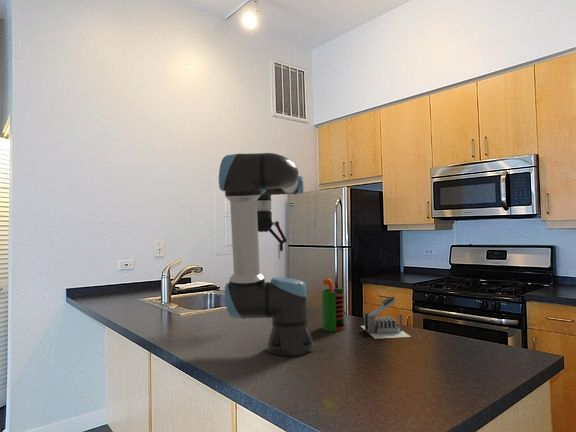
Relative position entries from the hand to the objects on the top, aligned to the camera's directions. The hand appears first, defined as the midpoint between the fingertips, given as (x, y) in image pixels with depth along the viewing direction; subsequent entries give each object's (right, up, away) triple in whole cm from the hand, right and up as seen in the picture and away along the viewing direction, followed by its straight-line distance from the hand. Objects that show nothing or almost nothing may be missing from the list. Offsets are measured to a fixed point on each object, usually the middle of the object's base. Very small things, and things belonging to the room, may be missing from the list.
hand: (264, 259), depth 180 cm
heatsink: (+46, -24, -27) cm, 59 cm away
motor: (+28, -26, -21) cm, 44 cm away
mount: (+46, -24, -27) cm, 59 cm away
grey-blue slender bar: (+45, -16, -27) cm, 55 cm away
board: (+46, -25, -27) cm, 59 cm away
